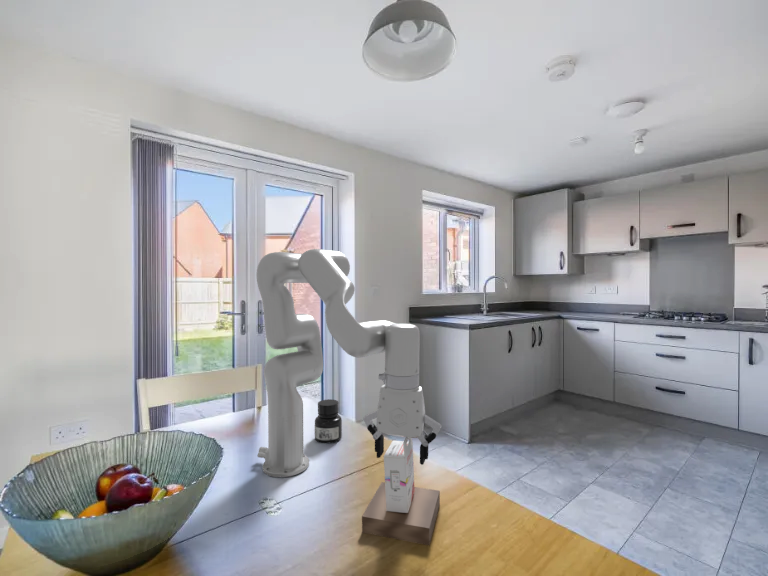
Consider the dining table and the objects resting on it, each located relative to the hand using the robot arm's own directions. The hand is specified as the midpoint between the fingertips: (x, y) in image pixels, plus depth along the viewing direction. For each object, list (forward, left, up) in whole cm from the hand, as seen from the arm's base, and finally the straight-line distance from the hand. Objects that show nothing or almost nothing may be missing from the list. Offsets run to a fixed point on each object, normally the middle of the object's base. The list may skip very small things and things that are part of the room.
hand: (401, 458), depth 82 cm
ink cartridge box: (0, 0, -10) cm, 10 cm away
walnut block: (0, 0, -14) cm, 14 cm away
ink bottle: (-34, +34, -13) cm, 50 cm away
